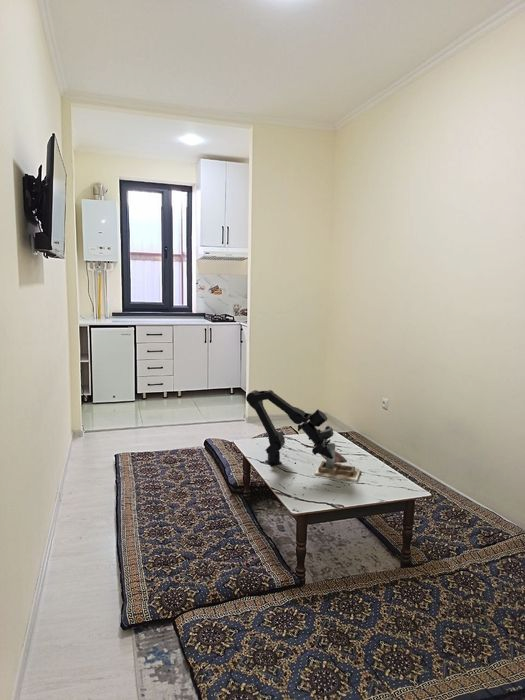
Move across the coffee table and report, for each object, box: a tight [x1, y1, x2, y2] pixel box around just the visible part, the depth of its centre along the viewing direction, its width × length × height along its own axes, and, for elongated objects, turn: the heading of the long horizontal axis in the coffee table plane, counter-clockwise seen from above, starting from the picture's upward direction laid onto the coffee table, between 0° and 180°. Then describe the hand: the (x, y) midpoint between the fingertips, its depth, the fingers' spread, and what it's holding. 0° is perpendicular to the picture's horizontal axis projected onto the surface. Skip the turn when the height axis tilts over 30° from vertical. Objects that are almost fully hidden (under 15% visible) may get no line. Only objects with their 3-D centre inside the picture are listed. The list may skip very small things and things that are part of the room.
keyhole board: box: [314, 460, 362, 483], centre depth 230 cm, size 20×13×3 cm, turn 71°
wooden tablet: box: [313, 445, 348, 463], centre depth 256 cm, size 26×2×10 cm
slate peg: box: [325, 442, 336, 469], centre depth 231 cm, size 4×4×13 cm
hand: (333, 457), depth 230 cm, fingers closed on slate peg, 4 cm apart
